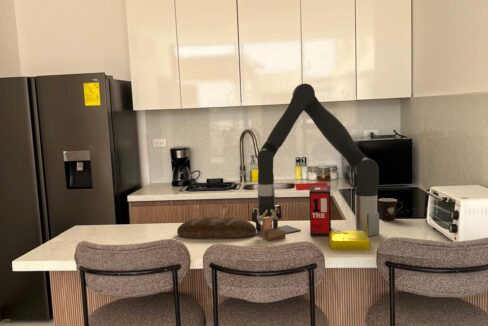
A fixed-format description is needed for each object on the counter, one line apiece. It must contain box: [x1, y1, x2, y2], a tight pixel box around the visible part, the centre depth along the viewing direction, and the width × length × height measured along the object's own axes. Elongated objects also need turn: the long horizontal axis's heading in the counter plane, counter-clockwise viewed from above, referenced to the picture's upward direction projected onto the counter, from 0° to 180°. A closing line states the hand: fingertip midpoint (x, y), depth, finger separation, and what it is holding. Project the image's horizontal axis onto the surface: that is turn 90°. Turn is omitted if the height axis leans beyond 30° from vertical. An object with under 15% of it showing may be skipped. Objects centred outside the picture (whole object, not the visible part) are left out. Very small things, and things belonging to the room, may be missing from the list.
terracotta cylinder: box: [261, 216, 273, 238], centre depth 185 cm, size 4×4×8 cm
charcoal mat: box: [272, 224, 302, 235], centre depth 193 cm, size 11×9×1 cm
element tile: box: [328, 229, 371, 252], centre depth 167 cm, size 15×15×5 cm
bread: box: [176, 216, 257, 240], centre depth 189 cm, size 16×36×8 cm, turn 83°
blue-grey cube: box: [256, 221, 263, 235], centre depth 190 cm, size 4×4×4 cm
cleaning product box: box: [308, 185, 332, 238], centre depth 187 cm, size 16×9×20 cm, turn 168°
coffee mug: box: [378, 197, 404, 222], centre depth 206 cm, size 12×9×10 cm
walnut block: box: [264, 228, 286, 242], centre depth 180 cm, size 4×8×4 cm, turn 118°
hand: (267, 229), depth 185 cm, fingers open, 8 cm apart
